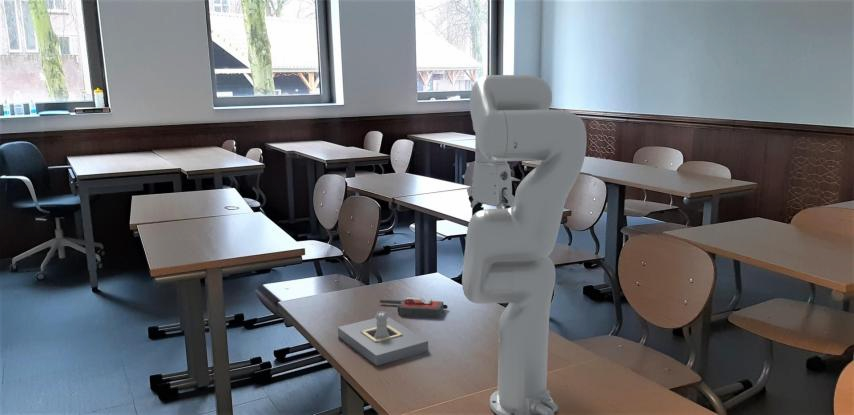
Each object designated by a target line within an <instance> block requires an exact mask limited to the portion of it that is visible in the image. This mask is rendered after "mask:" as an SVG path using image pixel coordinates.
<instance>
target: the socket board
mask: <svg viewBox="0 0 854 415" xmlns="http://www.w3.org/2000/svg"><path fill="white" fill-rule="evenodd" d="M376 321H377V319H376V318H375V317H373V318H370V319H365V320H361V321H357V322H353V323H349V324H345V325H341V326H337V337H338V338H339V339H341V340H343V342H345V343H346V344H347V345H348V346H350V347H351V348H353V349H354V350H355V351H356V352H357V353H359V354H361V356H363V357H365V358H366V359H367V360H369V361H370V362H371V363H373V364H374V365H375V366H380V365H384V364H388V363H391V362H395V361H397V360H398V361H399V360H401V359H405V358H408V357H411V356H415V355H419V354H422V353H426V352H428V351H429V341H428V340H427V339H426V338H424V337H422V336H420V335H419V334H417V333H416V332H414V331H413V330H411V329H410V328H407V327H406V326H404V325H403V324H402V323H399V322H397V321H396V320H394V319H393V318H391V317H390V316H388V318H387V319H386V321H387V331H388V333H389V335H390V336H389V337H385V338H381V339H378V340H376V339H375V338H374V336H375V333H376V329H377V324H376Z"/></svg>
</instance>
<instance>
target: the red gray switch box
mask: <svg viewBox="0 0 854 415" xmlns="http://www.w3.org/2000/svg"><path fill="white" fill-rule="evenodd" d="M379 303H380V304H391V305H392V304H393V305H397V307H396V308H397V313H398V314H399V316H403V317H418V318H430V319H431V318H432V319H433V318H435V319H439V318H441V316H442V314H443V313H444V310H447V309H448V307H449V306H448V305H447V304H444V301H439V300H436V301H435V300H433V299H432V298H429V299H428V300H426V299H424V297H421V296H407V297H406V298H405V299H403V300H396V299H382V298H381V299H380V300H379Z"/></svg>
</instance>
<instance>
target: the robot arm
mask: <svg viewBox="0 0 854 415" xmlns="http://www.w3.org/2000/svg"><path fill="white" fill-rule="evenodd" d="M469 95H470V96H469V111H470V116H471V120H472V129H473V131H474V132H475V141H474V142H475V152H474V153H475V157H474V159H475V161H474V165H473V172H472V173H473V174H472V184H471V186H469V187H467V189H466V192H467V196H468V201H469V202H470V208H471V217H470V220H469V222H468V226H467V229H466V236H465V237H466V238H465V247H464V248H465V249H464V254H463V264H462V274H461V275H462V276H461V285H462V291H463V294H464V296H465V298H466V299H467V300H468V301H469V302H471V303H473V304H478V305H479V304H482V305H484V304H487V305H488V304H508V305H507V306H506V307H505V309H504V310H503V312H502V313H501V316H500V317H499V321H498V345H497V346H498V348H497V351H498V353H497V354H498V355H497V390H495V391H493V393H492V394H490V397H489V407H490V409H491V410H492V412H494V413H495V414H496V415H555V412H557V411H558V410H559V405H557V404H556V403H555V401H554V400H553V398H552V397H551V392H550V391H551V390H549V389H547V382H548V381H547V380H548V351H549V349H548V348H549V327H550V324H549V323H550V313H551V312H550V310H551V304H552V299H553V293H554V289H555V284H556V266H555V264H554V262H553V260H552V259H551V258H550V257H549V256H550V255H551V254H552V253H553V250H554V248H555V246H556V242H557V239H558V236H559V235H558V234H559V232H560V228H561V227H560V226H561V223H562V218H563V213H564V210H565V204H566V200H567V198H568V197H569V195H570V193H571V190H572V188H573V187H574V185H575V183H576V181H577V179H578V178H579V175H580V173H581V171H582V169H583V165H584V161H585V158H586V153H587V144H588V142H587V140H588V139H587V130H586V126H585V125H586V124H585V123H584V121H583V120H582V118H581V117H580V116H578V115H577V114H575V113H573V112H570V111H566V110H561V109H550V107H551V106H552V102H553V92H552V89H551V87H550V85H549V84H548V83H547V82H546V81H545V80H544V79H543V78H540V77H538V76H535V75H531V74H494V75H493V74H489V75H488V74H487V75H483V76H481V77H479V78H477V80H476V81H475V82H474V83H473V85H472V87H471V90H470V94H469ZM531 161H540V163H539V164H538V165H537V166H536V167H534V168H533V169H532V170H531V171H530V172H529V173H527V175H526V176H525V177H524V178H523V179H522V180H521V182H519V184H518V186H517V188H516V190H515V195H513V186H512V175H511V174H512V172H511V167H510V163H508V162H531ZM483 205H487V206H491V207H495V208H488V209H484V206H483Z"/></svg>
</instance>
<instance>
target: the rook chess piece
mask: <svg viewBox="0 0 854 415" xmlns="http://www.w3.org/2000/svg"><path fill="white" fill-rule="evenodd" d="M388 317H389V315H388V313H387V311H383V310H381V311H379V310H378V311H377V312H376V314H375V315H374V318H376V319H377V321H376V324H377V329H376V333H375V336H374V338H375V339H376V340H378V339H381V338H385V337H389V336H390V335H389V333H388V331H387V321H386V319H387V318H388Z"/></svg>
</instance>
